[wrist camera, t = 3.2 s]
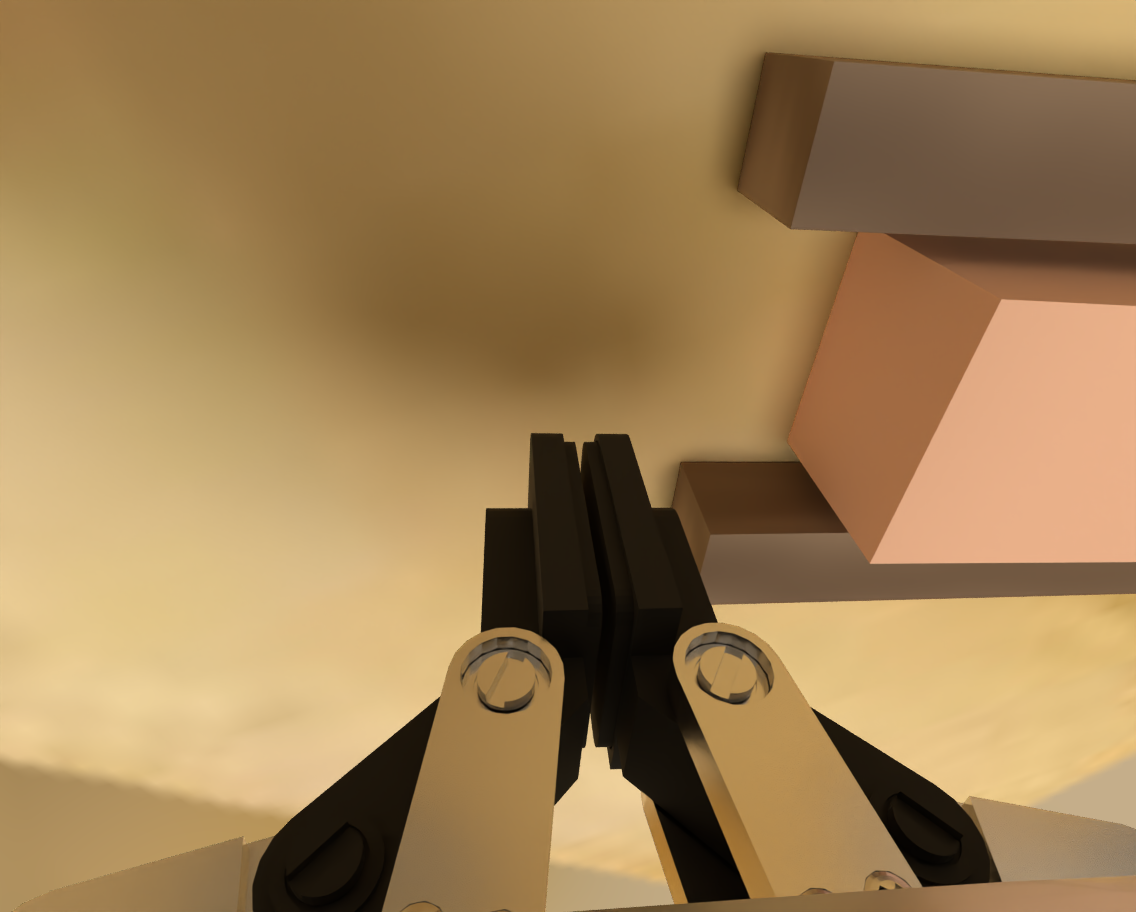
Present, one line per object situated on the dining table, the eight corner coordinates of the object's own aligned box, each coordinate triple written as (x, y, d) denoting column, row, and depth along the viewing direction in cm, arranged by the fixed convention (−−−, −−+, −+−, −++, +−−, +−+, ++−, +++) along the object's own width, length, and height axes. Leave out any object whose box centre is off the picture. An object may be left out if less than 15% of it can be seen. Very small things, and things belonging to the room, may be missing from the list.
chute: (766, 52, 12) (833, 61, 10) (1460, 105, 14) (1669, 124, 11) (666, 529, 19) (692, 605, 16) (1136, 523, 21) (1222, 591, 18)
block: (857, 218, 14) (1000, 299, 10) (1235, 243, 15) (1498, 324, 11) (784, 437, 18) (870, 563, 14) (1097, 443, 19) (1262, 561, 15)
